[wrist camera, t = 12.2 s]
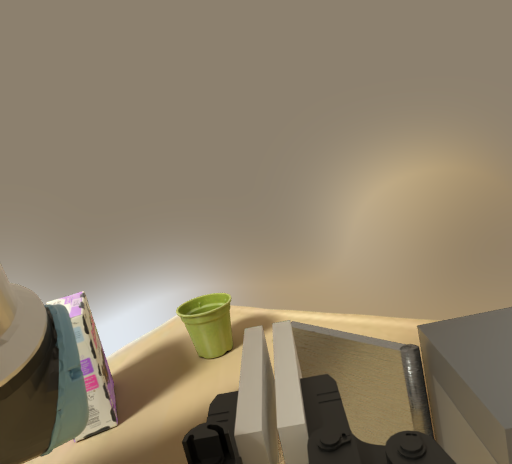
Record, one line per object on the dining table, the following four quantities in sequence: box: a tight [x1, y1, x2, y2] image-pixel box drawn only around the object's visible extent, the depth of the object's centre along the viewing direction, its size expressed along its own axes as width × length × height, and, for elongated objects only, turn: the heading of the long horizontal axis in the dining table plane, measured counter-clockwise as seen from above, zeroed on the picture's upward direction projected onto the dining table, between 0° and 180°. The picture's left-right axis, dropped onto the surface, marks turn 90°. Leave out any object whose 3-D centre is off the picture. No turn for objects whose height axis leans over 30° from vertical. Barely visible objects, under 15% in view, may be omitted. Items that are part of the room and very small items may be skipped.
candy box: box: [47, 291, 118, 442], centre depth 61 cm, size 14×6×16 cm, turn 21°
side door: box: [291, 321, 434, 445], centre depth 38 cm, size 13×2×13 cm, turn 43°
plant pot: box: [176, 293, 233, 359], centre depth 72 cm, size 9×9×9 cm
